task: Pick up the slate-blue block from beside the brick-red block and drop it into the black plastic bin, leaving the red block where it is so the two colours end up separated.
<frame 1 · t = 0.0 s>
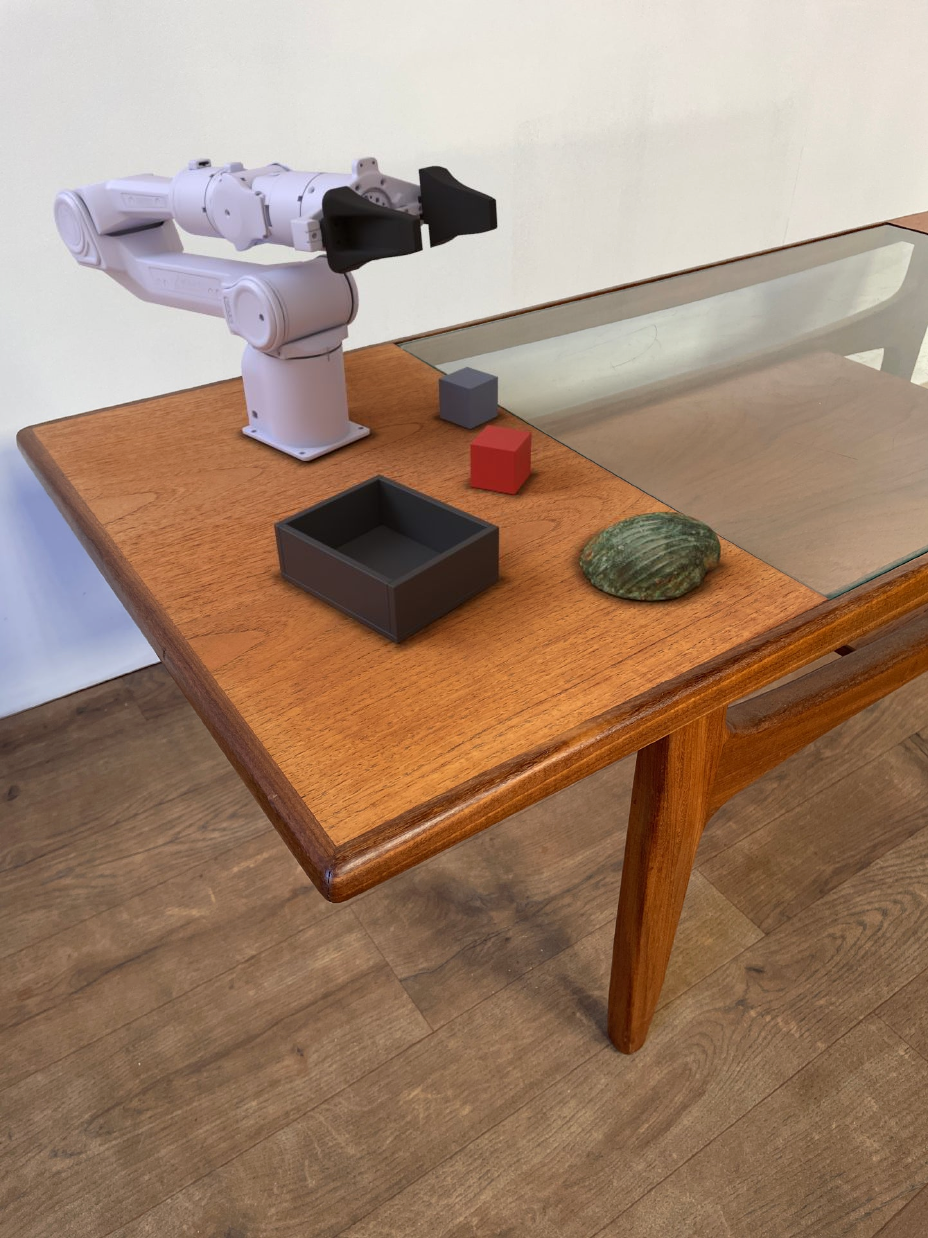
hand: (457, 224, 66), 22 cm above the table, tool horizontal, fingers open, 7 cm apart
red block: (500, 480, 82), on the table
bin: (389, 579, 70), on the table
blue block: (468, 417, 93), on the table
seashell: (648, 567, 71), on the table
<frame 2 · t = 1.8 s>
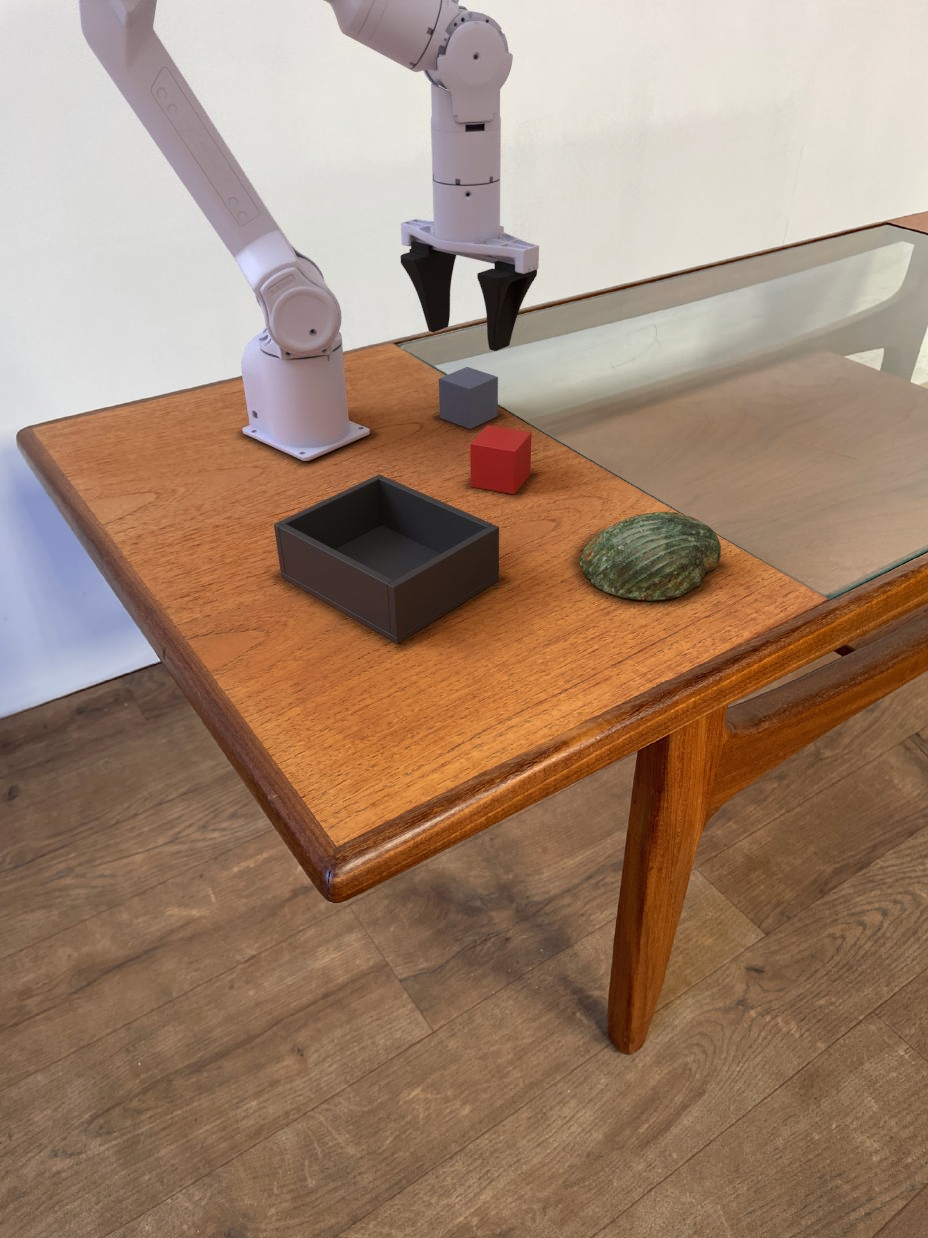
hand: (468, 338, 88), 8 cm above the table, tool pointing down, fingers open, 7 cm apart
nothing on the table moved.
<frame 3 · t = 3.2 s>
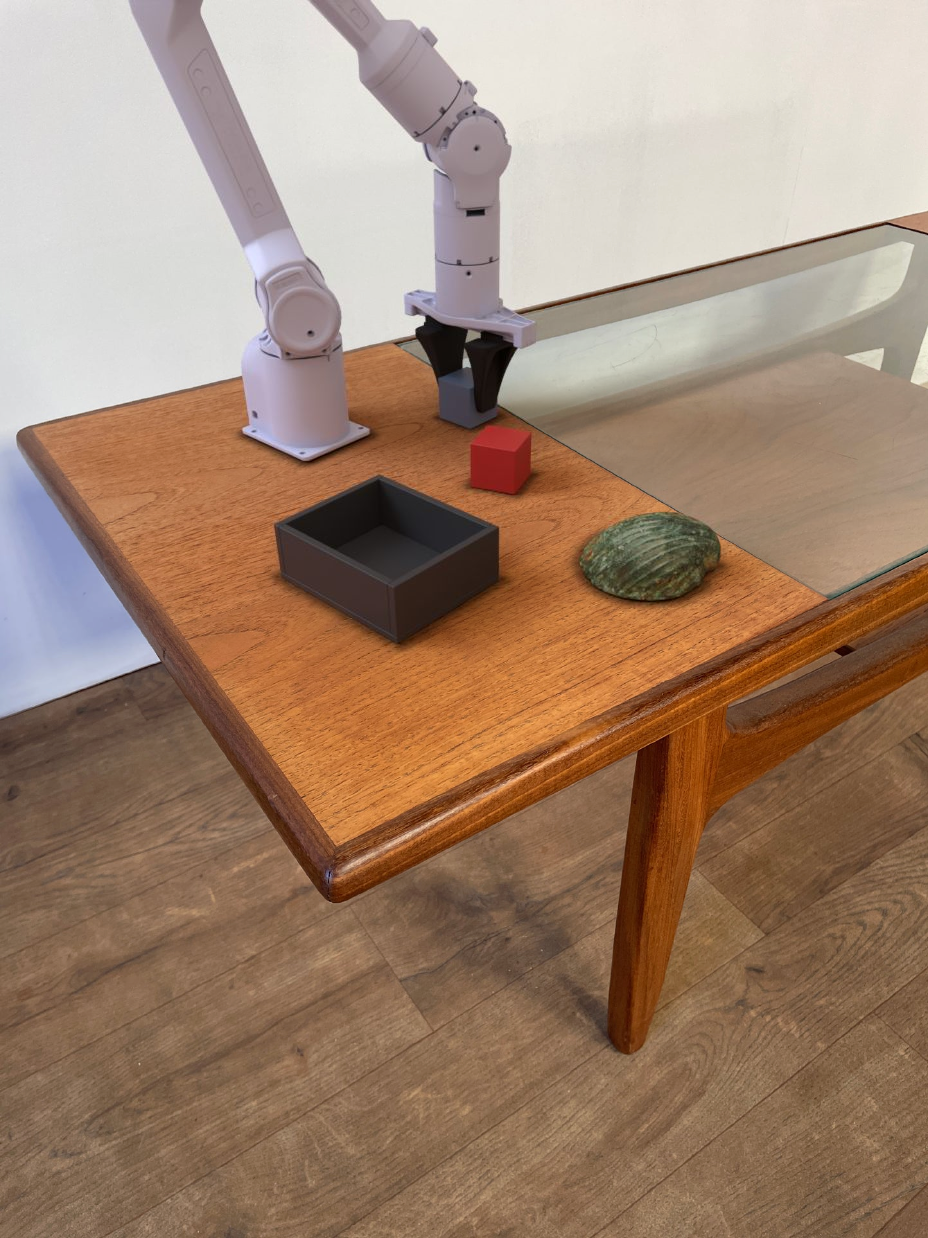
hand: (468, 403, 92), 1 cm above the table, tool pointing down, fingers closed on blue block, 4 cm apart
blue block: (468, 416, 93), on the table, touching gripper
everything else where it was.
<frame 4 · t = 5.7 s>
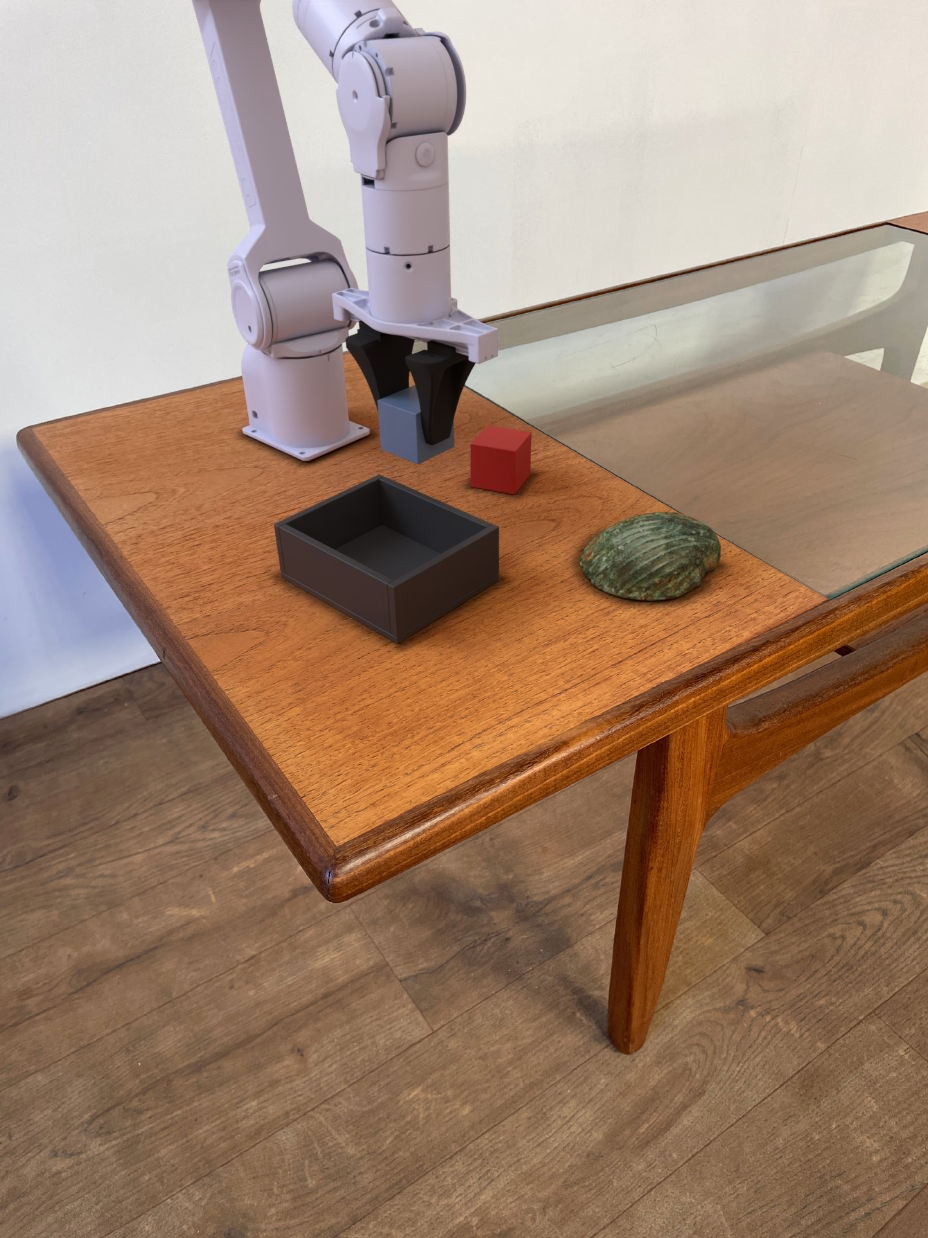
hand: (416, 431, 73), 7 cm above the table, tool pointing down, fingers closed on blue block, 4 cm apart
blue block: (417, 448, 74), point 6 cm above the table, touching gripper
everything else where it was.
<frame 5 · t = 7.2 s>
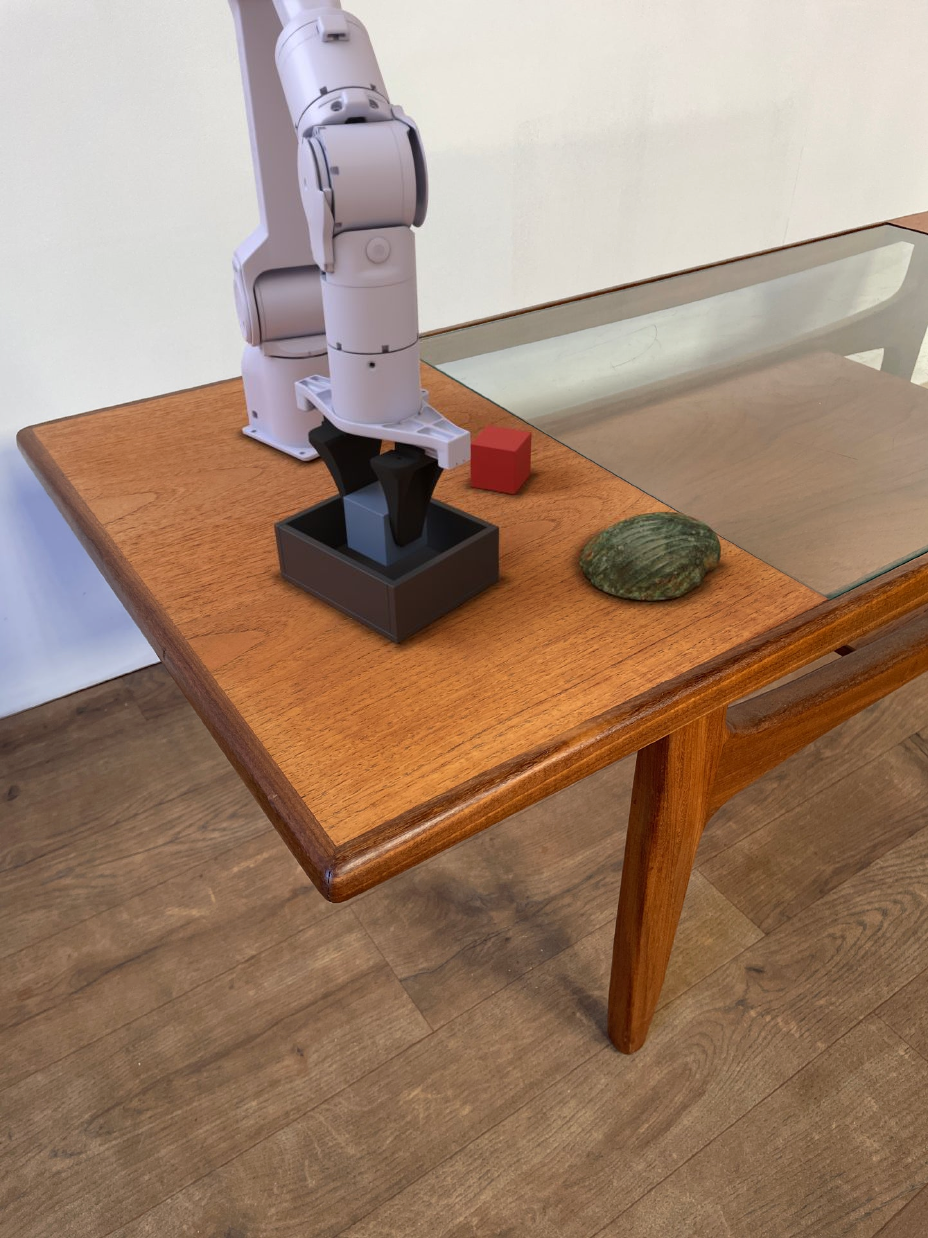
hand: (386, 529, 67), 4 cm above the table, tool pointing down, fingers closed on blue block, 4 cm apart
blue block: (387, 545, 68), point 3 cm above the table, touching gripper
everything else where it was.
when the fingers open (2 cm above the table, at t = 8.3 s): blue block stays where it is, resting on bin.
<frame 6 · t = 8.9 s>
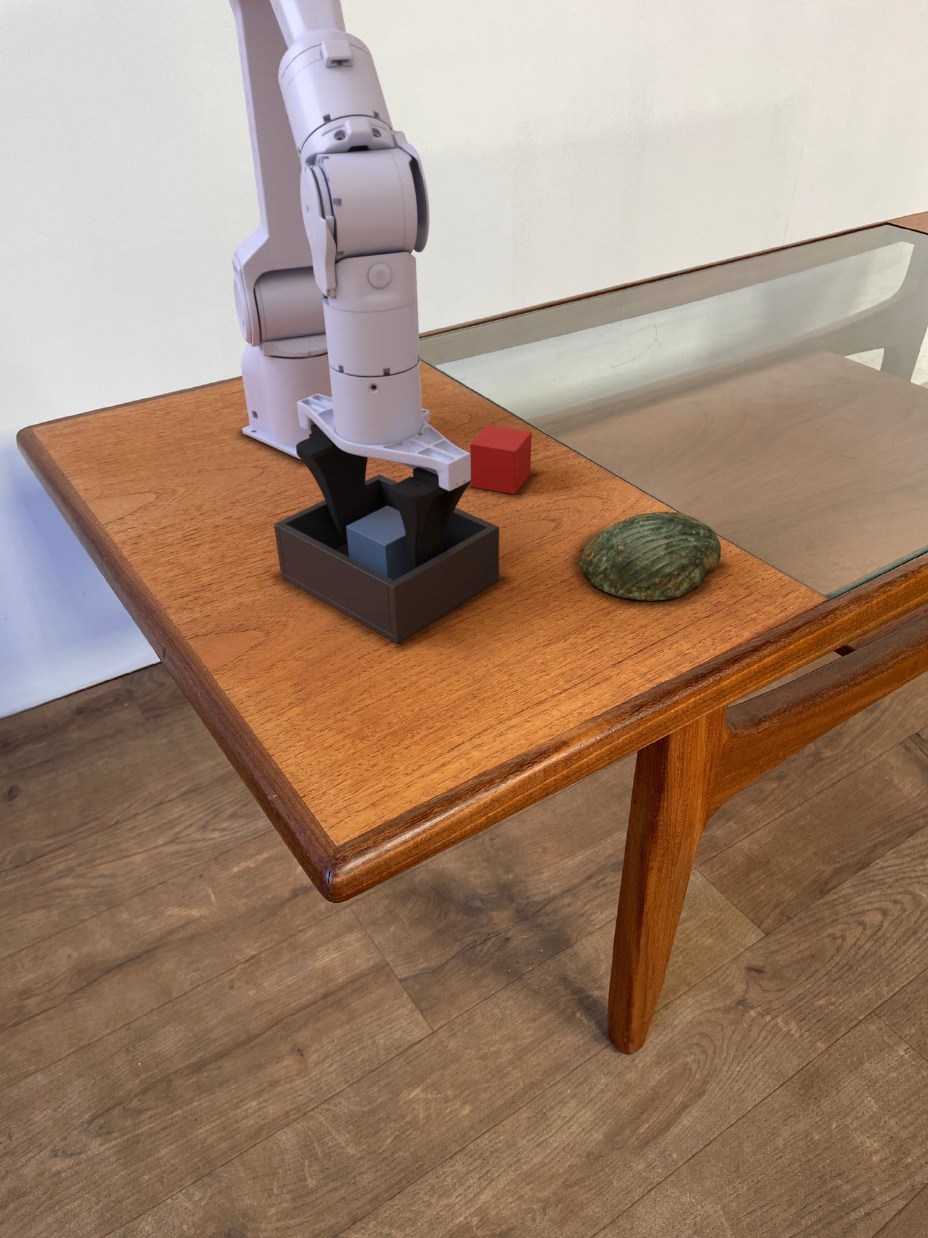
hand: (387, 546, 68), 3 cm above the table, tool pointing down, fingers open, 7 cm apart
blue block: (389, 572, 70), resting on bin
everything else where it was.
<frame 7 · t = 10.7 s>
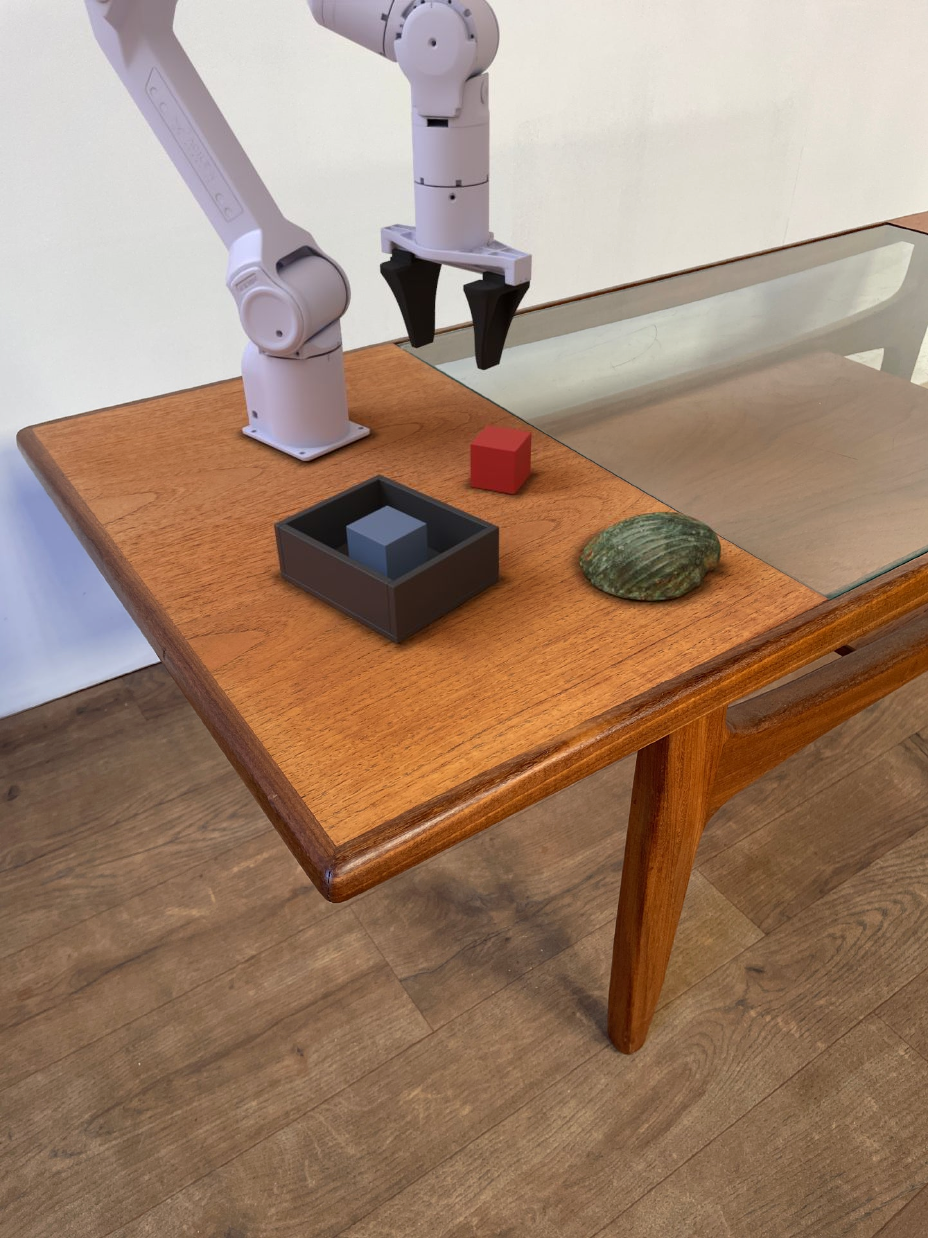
hand: (454, 355, 80), 9 cm above the table, tool pointing down, fingers open, 7 cm apart
nothing on the table moved.
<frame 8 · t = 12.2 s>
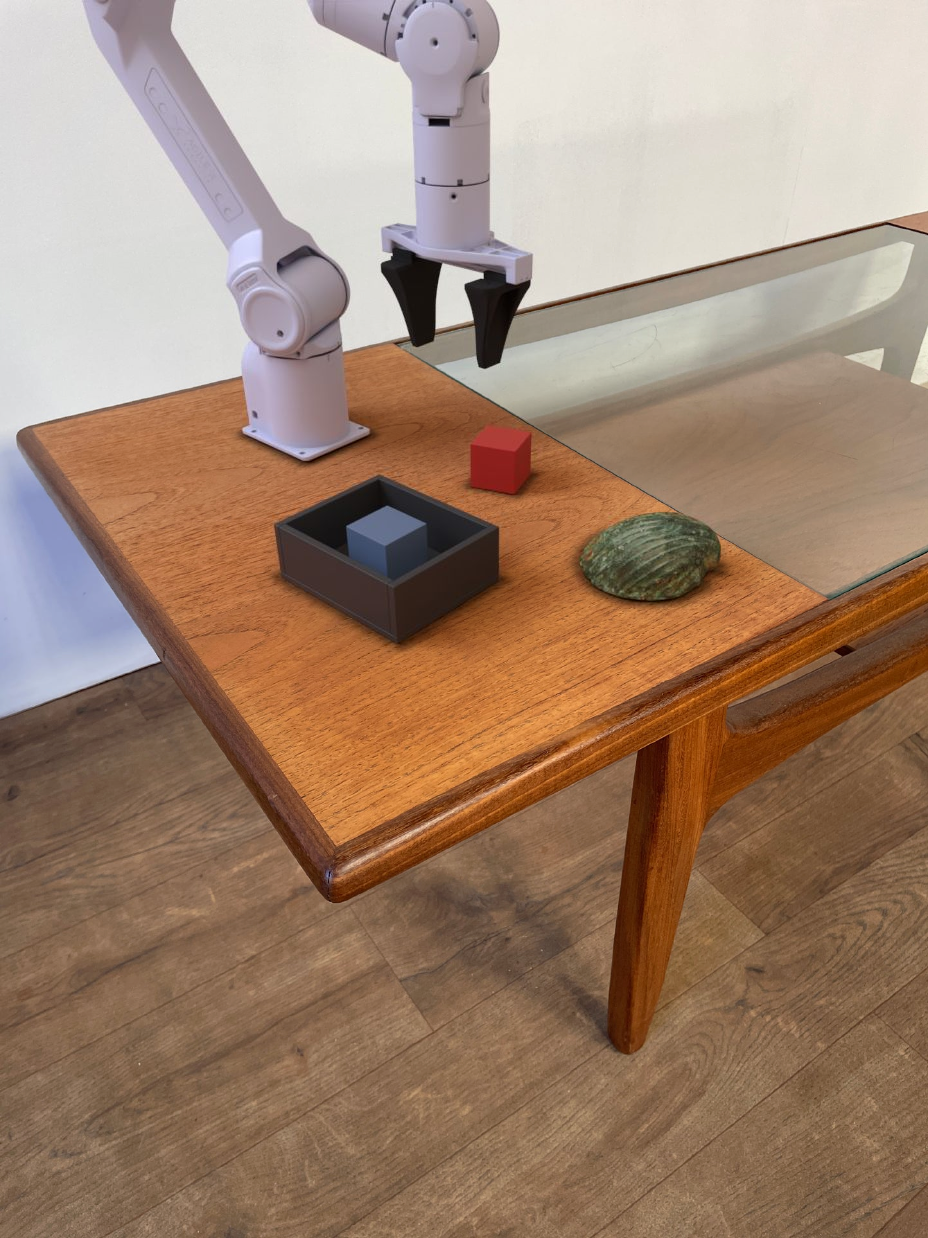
hand: (455, 354, 81), 9 cm above the table, tool pointing down, fingers open, 7 cm apart
nothing on the table moved.
at the end: blue block inside the target area in the bin (0.1 cm from its centre), point 0.5 cm above the bin's base; red block moved 0.0 cm from its start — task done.
